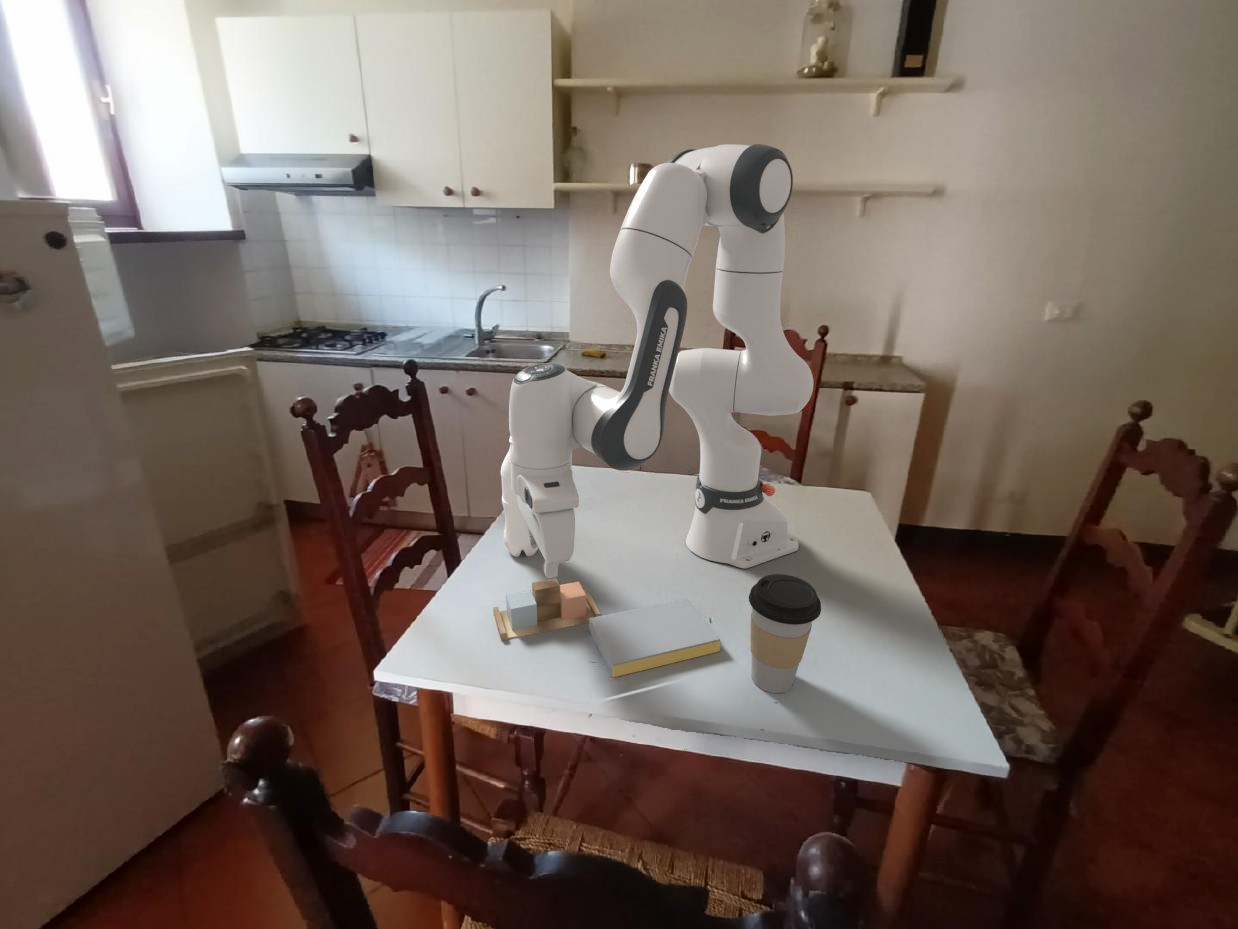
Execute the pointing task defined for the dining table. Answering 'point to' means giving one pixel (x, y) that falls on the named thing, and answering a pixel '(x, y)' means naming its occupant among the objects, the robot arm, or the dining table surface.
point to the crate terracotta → (572, 601)
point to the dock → (652, 636)
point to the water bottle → (513, 514)
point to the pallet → (544, 624)
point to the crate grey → (521, 610)
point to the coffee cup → (780, 629)
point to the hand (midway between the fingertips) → (542, 560)
